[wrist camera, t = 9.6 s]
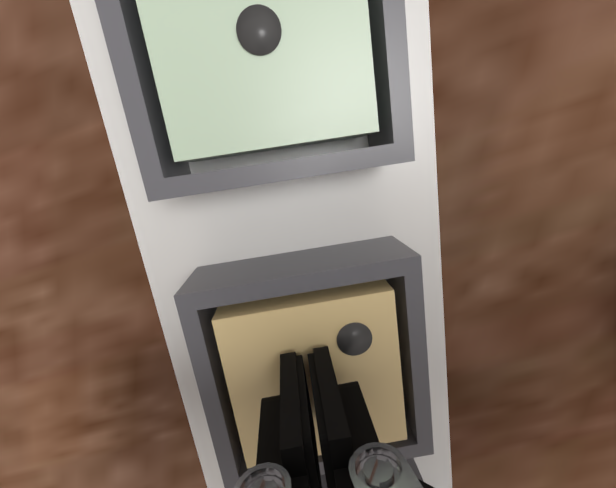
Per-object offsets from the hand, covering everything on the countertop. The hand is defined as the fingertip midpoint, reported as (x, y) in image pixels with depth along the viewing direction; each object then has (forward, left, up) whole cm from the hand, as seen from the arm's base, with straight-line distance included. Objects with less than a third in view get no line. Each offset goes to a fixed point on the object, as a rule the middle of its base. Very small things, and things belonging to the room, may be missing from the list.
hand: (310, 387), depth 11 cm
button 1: (0, -11, -3) cm, 11 cm away
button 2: (0, 0, -3) cm, 3 cm away
